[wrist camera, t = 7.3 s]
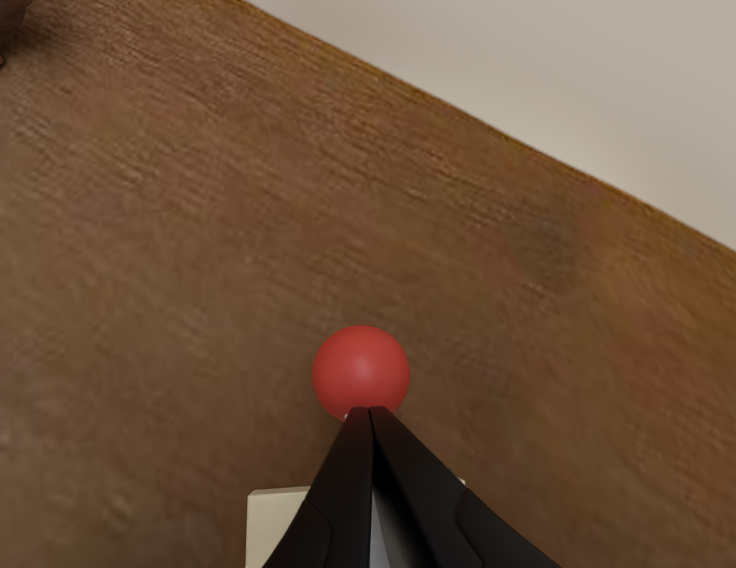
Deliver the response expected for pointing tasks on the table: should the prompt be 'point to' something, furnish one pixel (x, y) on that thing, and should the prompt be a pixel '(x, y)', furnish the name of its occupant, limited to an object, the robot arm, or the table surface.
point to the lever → (361, 388)
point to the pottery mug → (12, 14)
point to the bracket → (271, 520)
